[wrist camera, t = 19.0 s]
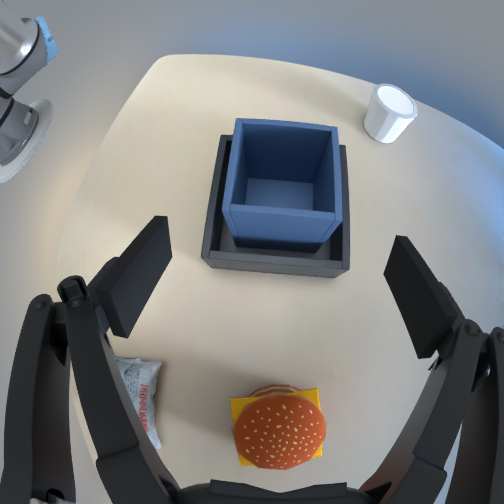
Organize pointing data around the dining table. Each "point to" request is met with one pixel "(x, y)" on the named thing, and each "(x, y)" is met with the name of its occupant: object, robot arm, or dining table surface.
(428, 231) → the dining table surface
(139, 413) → the packaged food
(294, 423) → the hamburger
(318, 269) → the charcoal bin
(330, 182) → the blue bin
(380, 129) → the white cup
